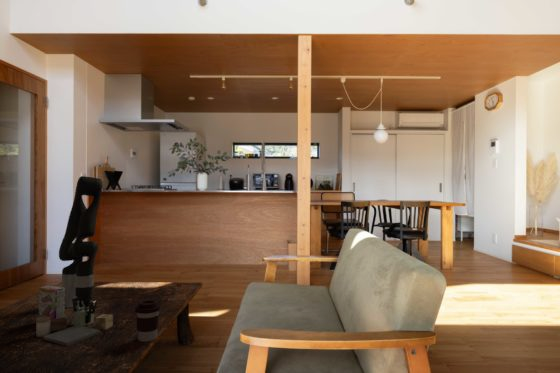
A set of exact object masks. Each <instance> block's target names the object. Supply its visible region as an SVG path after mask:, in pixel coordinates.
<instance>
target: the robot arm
mask: <svg viewBox="0 0 560 373" xmlns="http://www.w3.org/2000/svg"><path fill="white" fill-rule="evenodd" d="M103 185H104V184H103V180H102V179H101V178H97V177H92V176H86V175H83V176H79V177H78V179H77V183H76V187H75V192H74V197H73V201H72V202H73V203H72V206H71V209H70V213H69V215H68V219H67V220H68V221H67V225H66V229H65V233H64V236H63V238H62V240H61V243H60V246H59V248H58V249H59V250H58V257H59V260H60V261H61V262H69V261H72V262H71V263H70V264H69V265H67V266H64V267H63V268H62V270H61V287H62V288H65V309H68V308H69V309H70V308H72V309H73V313H74V312H77V311H80V310H84V311H85V314H86V315H85V323H86V324H87V323H90V321H91V314H93V313H94V314H95V313H96V308H97V304H98V302H97V300H93V298H92V296H93V295H94V292H95V291H94V290H95V288H94V287H95V286H94V285H95V284H94V283H95V281H94V280H95V277H94V267H95V266H94V264H95V260H96V256H97V254H98V250H99V245H98V243H97V242H96V241H95V240H89V241H86V240H85V239H88V238H93V237H94V236H95V234H96V224H97V215H98V212H99V211H98V210H99V206H100V202H101V197H102V191H103ZM83 196H88V197H93V199H92V201H91V203H90V205H89V206H88V207H86V205H85V202H84V199H83ZM84 240H85V241H84ZM86 257H87V258H88V259H86V260H84V258H86ZM83 260H84V261H83ZM87 310H89V312H88V311H87Z"/></svg>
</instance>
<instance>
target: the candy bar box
mask: <svg viewBox="0 0 560 373" xmlns="http://www.w3.org/2000/svg"><path fill="white" fill-rule="evenodd" d="M65 309H66V308H65V288H62V286H61V287H60V286H52V285H46V286H41V287H38V317H41V316H51V320H53V319H58V318H63V317H65V318H66V314H65V313H66V310H65Z"/></svg>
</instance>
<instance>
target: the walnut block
mask: <svg viewBox="0 0 560 373" xmlns="http://www.w3.org/2000/svg"><path fill="white" fill-rule="evenodd" d="M67 323H68V319H67V318H66V316H65V317H63V318H58V319H53V320H51V321H50V333H51V332H52V333H53V332H55V331H56V332H57V331H61V330H64V329H67V328H68V324H67Z"/></svg>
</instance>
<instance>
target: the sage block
mask: <svg viewBox="0 0 560 373" xmlns="http://www.w3.org/2000/svg"><path fill="white" fill-rule="evenodd" d="M87 311H88V312H89V310H87ZM85 315H86V314H85V311H84V310H80V311H77V312H76V311H75V312H74V311H73V326H75V325H80V326H84V327H86V326H87V325H90V324H93V323H95V313H93V314H91V321H90V323H87V324H86V323H85Z"/></svg>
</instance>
